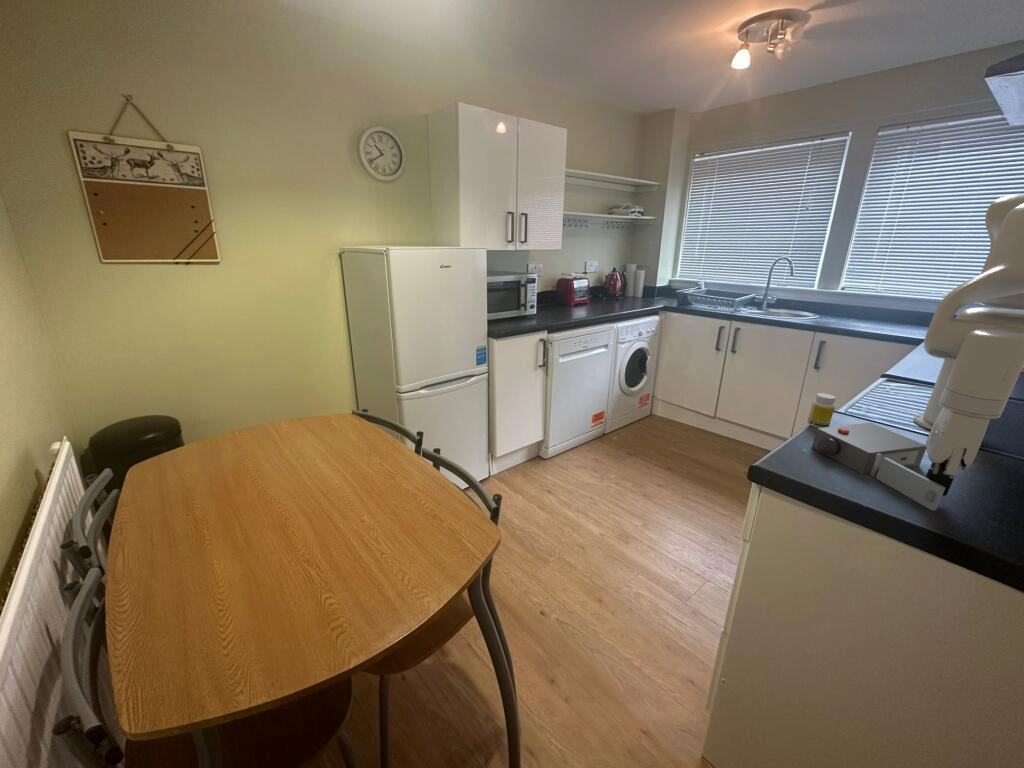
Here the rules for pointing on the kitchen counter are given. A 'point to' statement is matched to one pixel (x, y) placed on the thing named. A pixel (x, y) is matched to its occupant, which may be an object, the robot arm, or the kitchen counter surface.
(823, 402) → the supplement bottle
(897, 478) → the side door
